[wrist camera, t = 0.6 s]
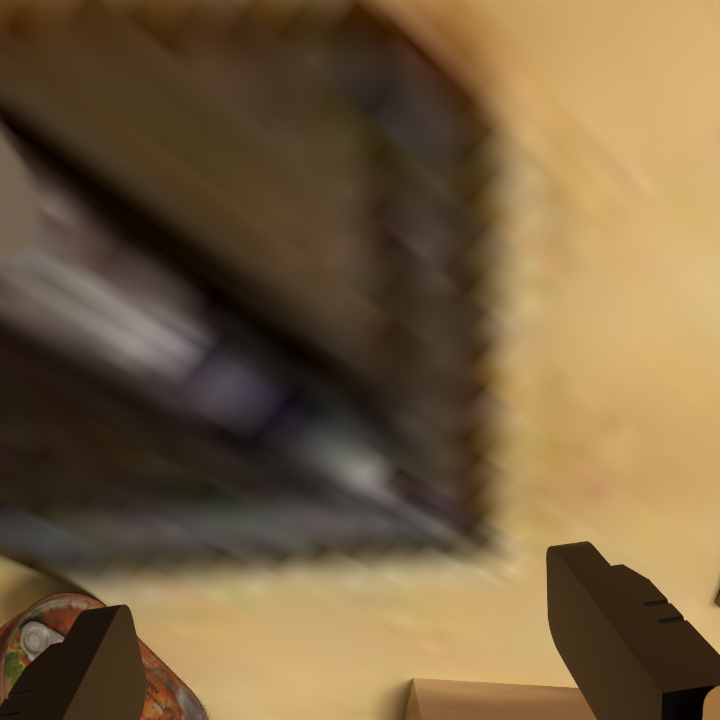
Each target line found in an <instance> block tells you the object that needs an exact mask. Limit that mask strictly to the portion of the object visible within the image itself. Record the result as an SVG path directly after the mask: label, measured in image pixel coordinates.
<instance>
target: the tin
mask: <svg viewBox="0 0 720 720" xmlns="http://www.w3.org/2000/svg"><path fill="white" fill-rule="evenodd" d="M102 607H106V606H105V605H103V604H102V603H100V602H99V601H97V600H95V599H93V598H91V597H88V596H86V595H83V594H78V593H69V592H68V593H58V594H54V595H50V596H48V597H45V598H43V599H41V600H39V601H38V602H36V603H35V604H33V605H32V606H31V607H29V608H28V609H27V610H26V611H25V612H23V613H21V614H19V615H18V616H16V617H14V618H13V619H11V620H10V621H9V622H7V623H6V624H5V625H3V626H2V627H1V628H0V706H1V704H2V703H3V701H4V699H8V693H9V692H10V690H11V689H12V687H13V686H14V684H15V682H16V681H17V679H18V678H19V676H20V675H21V673H22V672H23V670H24V669H25V667H26V666H27V665H29V664H30V663H31V662H32V661H33V660H34V659H35V658H36V657H37V656H38V655H40V654H41V653H42V652H43V651H44V650H45V649H46V648H47V647H48V646H49V645H51V644H55V643H62V642H63V640H64V638H65V637H66V635H67V633H68V632H69V630H70V628H71V627H72V625H73V623H74V622H75V620H76V618H77V617H78V615H79V614H80V613H81V612H82V611H83V610H88V609H95V608H102ZM137 639H138V643H139V648H140V652H141V656H142V661H143V665H144V669H145V674H146V698H145V704H144V709H143V712H142V715H141V718H140V720H207V717H206V715H205V713H204V710H203V708H202V706H201V704H200V703H199V701H198V699H197V698H196V696H195V695H194V693H193V692H192V691H191V690H190V688H189V687H188V686H187V685H186V684H185V683H184V682H183V681H182V680H181V679H179V678H178V677H177V676H176V675H175V674H174V673H173V672H172V671H171V670H170V669H169V668H168V667H167V666H166V665H165V664H164V663H163V662H162V661H161V660H160V659H159V658H158V657H157V656H156V655H155V654H154V653H153V652H152V651H151V650H150V649H149V648H148V647H147V646H146V645H145V644H144V643H143V642H142V641H140V640H139V638H138V637H137Z"/></svg>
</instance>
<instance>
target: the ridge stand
mask: <svg viewBox="0 0 720 720" xmlns="http://www.w3.org/2000/svg"><path fill="white" fill-rule="evenodd" d="M715 603H716V604H717V605H718V606H719V607H720V592H719V594H718V597H717V599H716V602H715Z"/></svg>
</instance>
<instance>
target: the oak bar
mask: <svg viewBox="0 0 720 720" xmlns="http://www.w3.org/2000/svg"><path fill="white" fill-rule="evenodd" d="M404 720H597V719H596V717H595V715H594V714H593V712H592V710H591V708H590V707H589V705H588V703H587V701H586V700H585V698H584V696H583V694H582V692H581V691H580V689H579V688H568V687H551V686H535V685H518V684H502V683H485V682H469V681H452V680H435V679H419V678H413V682H412V686H411V691H410V695H409V699H408V703H407V708H406V712H405V716H404Z"/></svg>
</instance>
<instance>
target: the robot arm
mask: <svg viewBox="0 0 720 720" xmlns="http://www.w3.org/2000/svg"><path fill="white" fill-rule="evenodd" d="M546 563H547V603H548V621H549V626H550V631H551V634H552V638H553V641H554V643H555V646H556V648H557V650H558V652H559V654H560V656H561V657H562V659H563V661H564V663H565V664H566V666H567V668H568V670H569V671H570V673H571V675H572V677H573V678H574V680H575V682H576V684H577V685H578V687H579V689H580V691H581V692H582V694H583V696H584V698H585V700H586V701H587V703H588V705H589V707H590V708H591V710H592V712H593V714H594V715H595V717H596V719H597V720H720V655H719V654H718V653H717V652H716V651H715V649H714V648H713V647H712V646H711V645H710V644H709V643H708V642H707V641H706V640H705V639H704V638H703V637H702V636H701V635H700V633H699V632H698V631H697V630H696V629H695V628H694V627H693V626H692V625H691V624H690V623H689V622H688V621H687V620H686V621H685V620H684V618H683V615H682V614H681V613H680V612H679V611H678V610H677V609H676V608H675V607H674V606H673V605H672V604H671V603H670V604H669V603H668V600H667V598H666V597H665V596H664V595H663V594H662V593H661V592H660V591H659V590H658V589H657V588H656V587H655V586H654V584H653V583H652V582H651V581H650V580H649V579H647V578H645V577H644V576H642V575H640V574H638V573H637V572H635V571H633V570H632V569H630V568H628V567H626V566H625V565H623V564H621V565H614V566H610V564H609V563H608V562H607V561H606V560H605V559H604V557H603V556H602V555H601V554H600V553H599V552H598V550H597V549H596V548H595V547H594V546H593V545H592V544H591V543H590V542H588V541H585V542H578V543H571V544H564V545H557V546H550V547H549V548H548V549H547V555H546ZM145 698H146V674H145V669H144V665H143V661H142V656H141V652H140V648H139V643H138V639H137V635H136V631H135V626H134V622H133V618H132V614H131V611H130V609H129V607H128V606H127V605H125V604H124V605H117V606H110V607H102V608H95V609H88V610H83V611H82V612H81V613H80V614H79V615H78V617H77V618H76V620H75V622H74V623H73V625H72V627H71V628H70V630H69V632H68V633H67V635H66V637H65V638H64V640H63V642H62V643H55V644H51V645H49V646H48V647H47V648H46V649H45V650H44V651H43V652H42V653H41V654H40V655H38V656H37V657H36V658H35V659H34V660H33V661H32V662H31V663H30V664H29V665H27V666H26V667H25V669H24V670H23V672H22V673H21V675H20V676H19V678H18V679H17V681H16V682H15V684H14V686H13V687H12V689H11V690H10V692H9V693H8V699H4V701H3V703H2V704H1V706H0V720H140V718H141V715H142V712H143V709H144V704H145Z"/></svg>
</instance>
